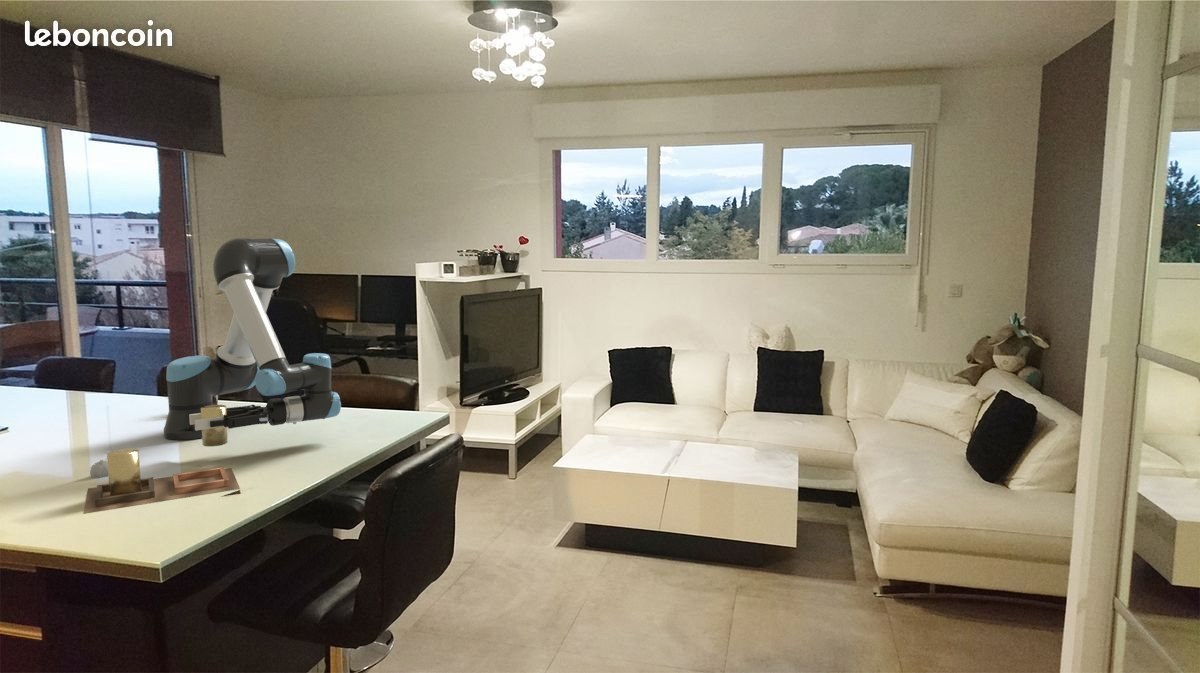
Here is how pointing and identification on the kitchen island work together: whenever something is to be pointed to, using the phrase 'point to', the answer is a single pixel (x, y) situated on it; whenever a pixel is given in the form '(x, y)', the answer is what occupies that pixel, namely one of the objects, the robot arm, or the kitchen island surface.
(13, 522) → the kitchen island surface
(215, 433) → the brass billet
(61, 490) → the kitchen island surface
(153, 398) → the kitchen island surface
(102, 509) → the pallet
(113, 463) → the cylinder
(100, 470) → the garlic
